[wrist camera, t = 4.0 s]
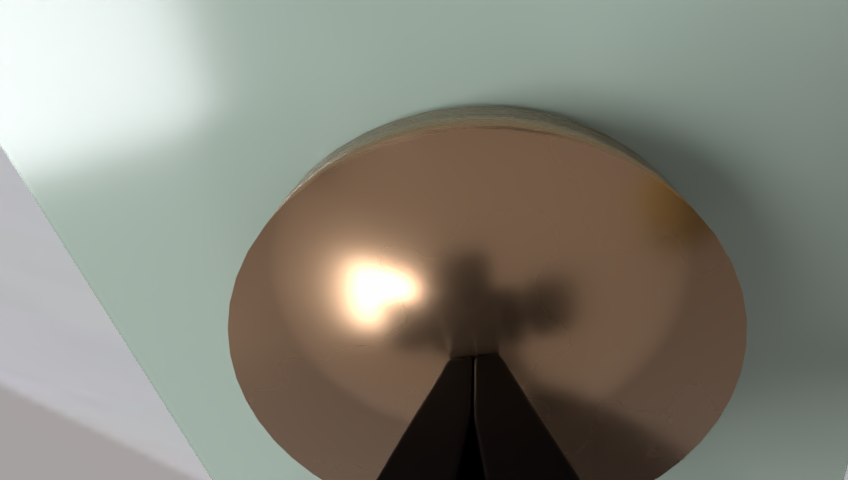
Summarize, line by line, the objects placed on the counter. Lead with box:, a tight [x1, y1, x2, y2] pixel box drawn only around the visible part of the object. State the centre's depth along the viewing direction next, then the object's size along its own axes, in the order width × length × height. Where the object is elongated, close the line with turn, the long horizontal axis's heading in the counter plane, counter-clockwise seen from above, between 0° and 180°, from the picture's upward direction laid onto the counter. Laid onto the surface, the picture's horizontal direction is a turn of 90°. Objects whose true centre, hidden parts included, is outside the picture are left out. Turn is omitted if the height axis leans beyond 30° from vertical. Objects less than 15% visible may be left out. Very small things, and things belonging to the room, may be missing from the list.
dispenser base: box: [0, 0, 848, 480], centre depth 11 cm, size 14×14×5 cm
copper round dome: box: [228, 106, 747, 480], centre depth 10 cm, size 8×8×5 cm
